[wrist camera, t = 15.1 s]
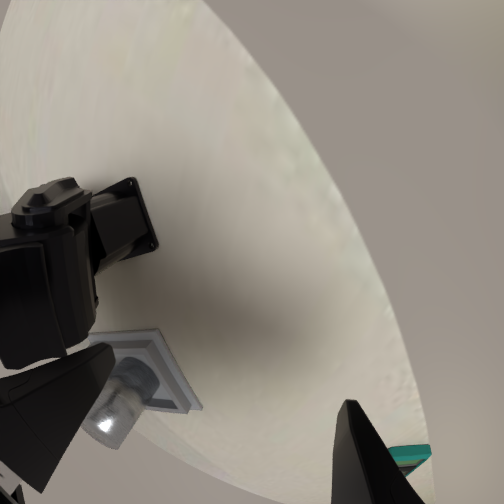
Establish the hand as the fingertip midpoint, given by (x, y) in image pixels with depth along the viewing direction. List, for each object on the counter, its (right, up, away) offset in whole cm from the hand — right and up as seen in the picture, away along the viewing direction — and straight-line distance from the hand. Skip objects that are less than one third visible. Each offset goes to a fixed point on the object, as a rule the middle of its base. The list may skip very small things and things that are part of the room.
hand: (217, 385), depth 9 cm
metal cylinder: (-12, -10, +20) cm, 25 cm away
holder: (-12, -10, +20) cm, 26 cm away
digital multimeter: (+23, -29, +20) cm, 42 cm away
